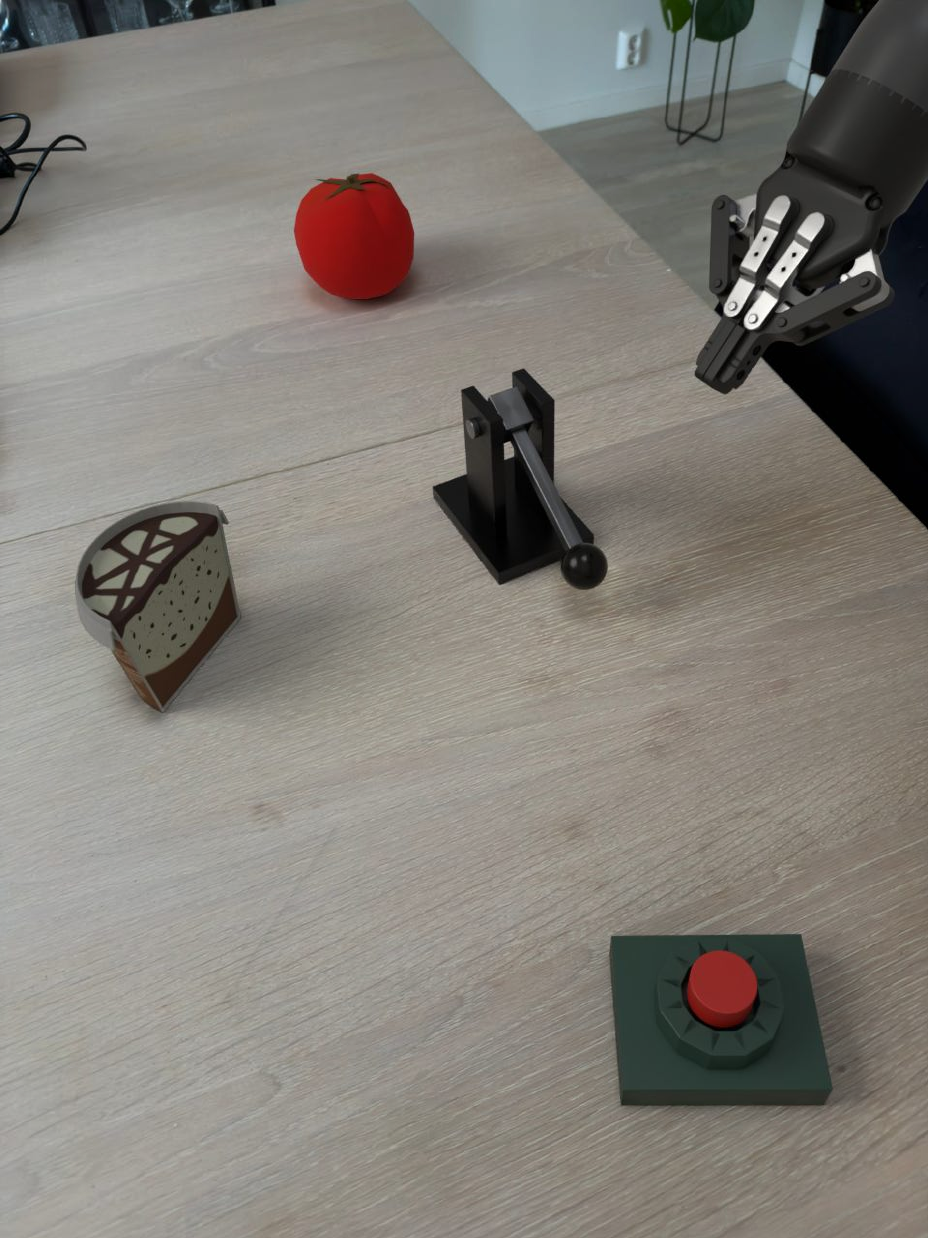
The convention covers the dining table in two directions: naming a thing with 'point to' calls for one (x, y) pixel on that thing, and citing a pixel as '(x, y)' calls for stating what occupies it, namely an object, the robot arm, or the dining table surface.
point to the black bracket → (505, 488)
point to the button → (721, 989)
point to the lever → (549, 494)
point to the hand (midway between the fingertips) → (710, 385)
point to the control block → (704, 1054)
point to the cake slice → (159, 594)
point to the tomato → (355, 236)
